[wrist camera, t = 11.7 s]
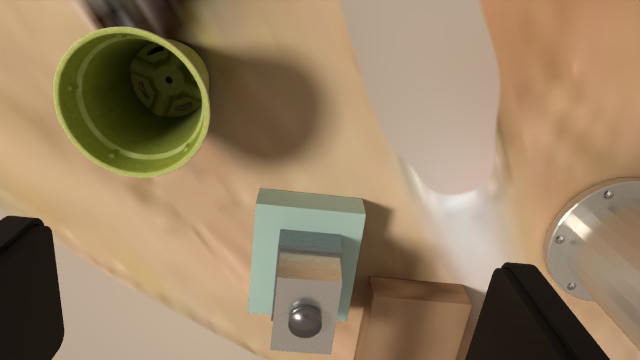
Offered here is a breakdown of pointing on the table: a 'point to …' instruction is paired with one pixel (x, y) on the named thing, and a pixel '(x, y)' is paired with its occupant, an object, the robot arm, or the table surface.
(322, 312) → the block
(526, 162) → the table surface
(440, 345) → the stand walnut
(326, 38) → the table surface
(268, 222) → the stand teal
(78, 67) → the plant pot
